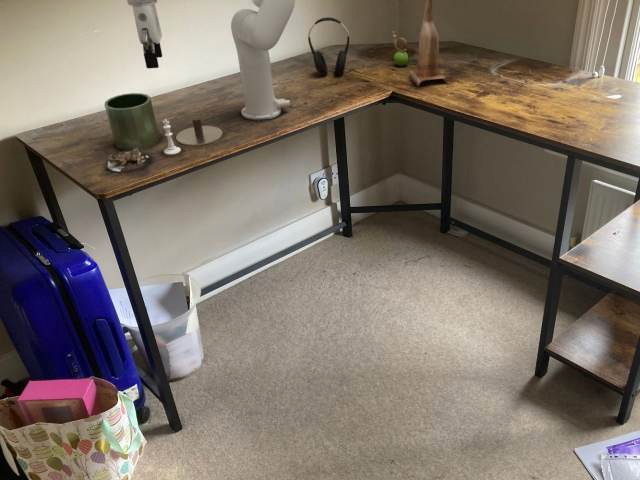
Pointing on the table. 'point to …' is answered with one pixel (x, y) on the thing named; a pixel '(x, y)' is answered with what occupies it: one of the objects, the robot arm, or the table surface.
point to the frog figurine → (124, 159)
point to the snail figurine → (400, 51)
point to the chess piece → (170, 140)
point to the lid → (199, 134)
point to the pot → (132, 120)
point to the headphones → (319, 58)
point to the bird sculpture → (427, 50)
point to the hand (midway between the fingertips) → (154, 62)
